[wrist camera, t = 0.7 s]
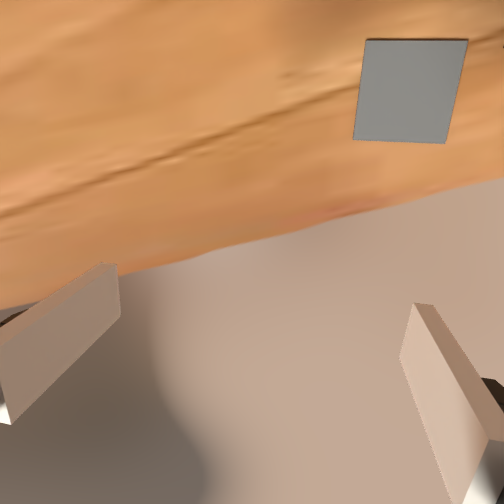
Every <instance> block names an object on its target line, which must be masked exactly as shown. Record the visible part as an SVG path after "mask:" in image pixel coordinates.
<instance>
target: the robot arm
mask: <svg viewBox="0 0 504 504" xmlns="http://www.w3.org/2000/svg"><path fill="white" fill-rule="evenodd" d="M120 316H121V309H120V298H119V286H118V275H117V264H112V263H104V262H101V263H99V264H98V265H96V266H95V267H93V268H91V269H90V270H88V271H87V272H85V273H84V274H82V275H81V276H79V277H78V278H76V279H74V280H73V281H71V282H70V283H68V284H67V285H65V286H64V287H62V288H61V289H59V290H57V291H56V292H54V293H53V294H51V295H50V296H48V297H47V298H45V299H44V300H42V301H40V302H39V303H37V304H36V305H34V306H33V307H31V308H30V309H26V310H24V311H21V312H18V313H16V314H13V315H11V316H10V317H8V318H7V319H5V320H4V321H2V322H1V323H0V422H1V423H6V424H10V425H11V424H12V423H13V422H14V421H15V420H16V419H17V418H18V417H19V416H20V415H21V414H22V413H23V412H24V411H25V410H26V409H27V408H28V407H29V406H30V405H31V404H32V403H33V402H34V401H35V400H36V399H37V398H38V397H39V396H40V395H41V394H42V393H43V392H44V391H45V390H46V389H48V388H49V387H50V385H52V384H53V382H54V381H55V380H57V379H58V378H59V376H61V375H62V374H63V372H65V371H66V370H67V369H68V368H69V367H70V366H71V365H72V364H73V363H74V362H75V361H76V360H77V359H78V358H79V357H80V356H81V355H82V354H83V353H84V352H85V351H86V350H87V349H88V348H89V347H90V346H91V345H92V344H93V343H94V342H95V341H96V340H97V339H98V338H99V337H100V336H101V335H102V334H103V333H104V332H105V331H106V330H107V329H108V328H109V327H110V326H111V325H112V324H113V323H114V322H115V321H116V320H117V319H118V318H119V317H120ZM399 359H400V362H401V364H402V367H403V370H404V373H405V375H406V378H407V381H408V383H409V387H410V389H411V392H412V395H413V398H414V400H415V403H416V406H417V409H418V411H419V414H420V417H421V419H422V422H423V425H424V428H425V430H426V433H427V436H428V439H429V442H430V444H431V447H432V450H433V453H434V455H435V458H436V461H437V463H438V466H439V469H440V472H441V475H442V477H443V480H444V483H445V486H446V488H447V491H448V494H449V497H450V499H451V502H452V504H504V387H503V386H502V385H501V384H499V383H498V382H497V381H496V380H493V379H487V378H481V377H480V376H479V375H478V373H477V372H476V370H475V369H474V367H473V366H472V364H471V362H470V361H469V359H468V358H467V356H466V355H465V353H464V352H463V350H462V349H461V347H460V346H459V344H458V343H457V341H456V340H455V338H454V337H453V335H452V333H451V332H450V331H449V329H448V328H447V326H446V324H445V323H444V321H443V320H442V318H441V317H440V315H439V314H438V312H437V311H436V309H435V308H434V306H433V305H427V304H420V303H413V306H412V310H411V314H410V318H409V321H408V325H407V329H406V333H405V337H404V341H403V344H402V348H401V352H400V356H399Z"/></svg>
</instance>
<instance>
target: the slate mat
mask: <svg viewBox="0 0 504 504" xmlns="http://www.w3.org/2000/svg"><path fill="white" fill-rule="evenodd" d="M467 43H468V41H366V42H365V49H364V57H363V64H362V72H361V80H360V87H359V95H358V103H357V110H356V118H355V125H354V133H353V140H366V141H389V142H413V143H436V144H445V142H446V138H447V133H448V129H449V124H450V120H451V115H452V111H453V106H454V102H455V97H456V93H457V88H458V84H459V79H460V75H461V70H462V66H463V61H464V57H465V52H466V48H467Z"/></svg>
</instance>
